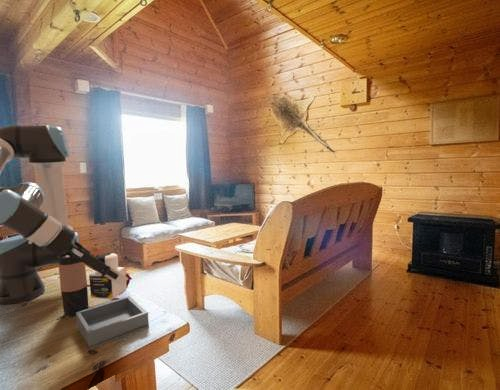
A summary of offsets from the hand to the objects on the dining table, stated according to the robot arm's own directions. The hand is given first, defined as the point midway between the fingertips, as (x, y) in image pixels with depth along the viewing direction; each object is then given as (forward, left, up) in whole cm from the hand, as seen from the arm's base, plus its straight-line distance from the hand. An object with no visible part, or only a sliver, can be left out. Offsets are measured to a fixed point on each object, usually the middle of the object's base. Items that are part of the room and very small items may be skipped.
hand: (119, 277), depth 91 cm
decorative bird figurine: (-21, +2, -15) cm, 26 cm away
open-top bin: (-1, -3, -15) cm, 15 cm away
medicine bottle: (0, -3, -4) cm, 5 cm away
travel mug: (-20, -9, -15) cm, 26 cm away
